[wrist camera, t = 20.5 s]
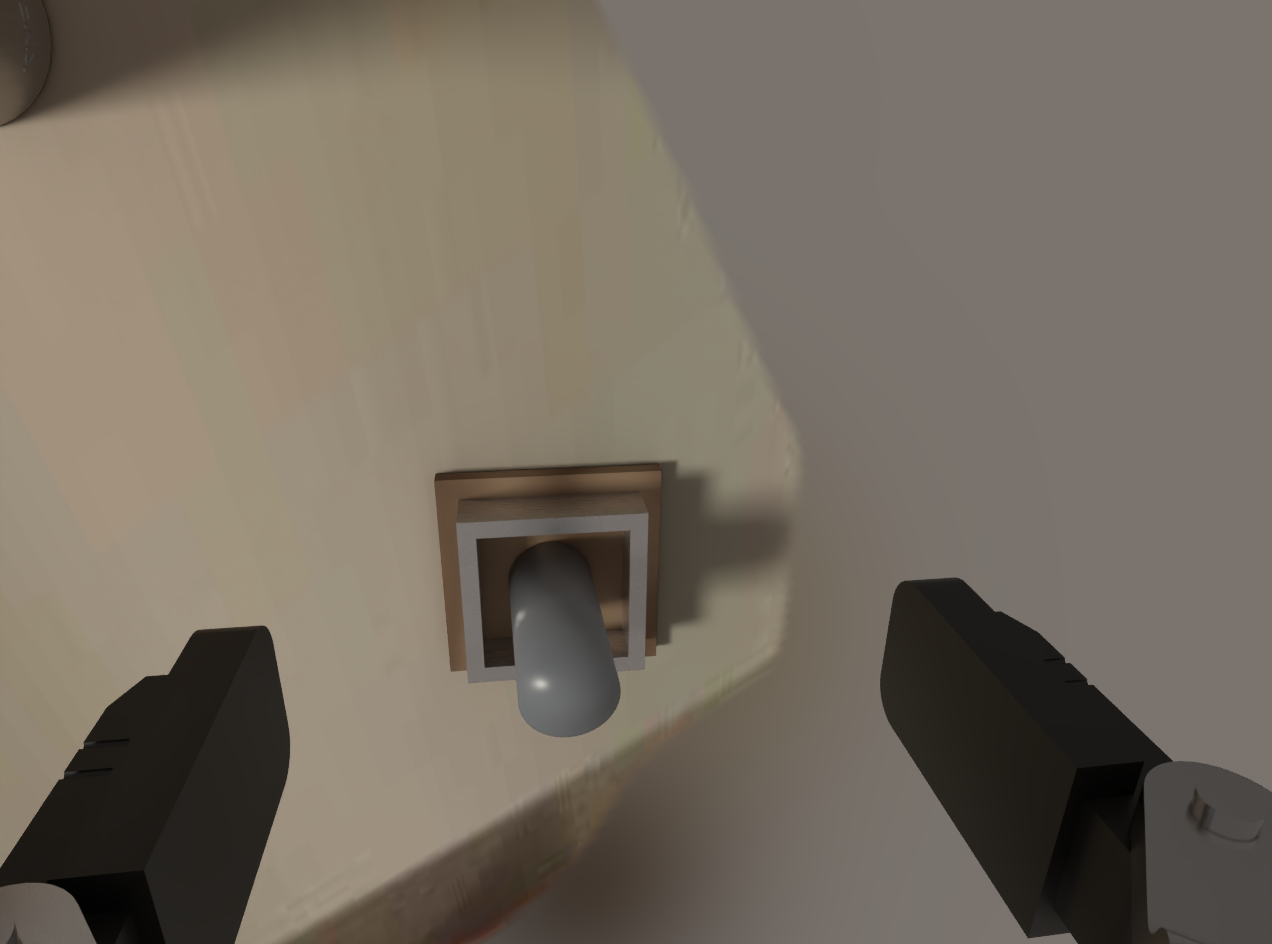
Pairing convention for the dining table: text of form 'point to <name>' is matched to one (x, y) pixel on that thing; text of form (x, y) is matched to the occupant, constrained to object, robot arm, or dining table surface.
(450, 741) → the dining table surface
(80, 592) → the dining table surface
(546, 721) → the grey capsule cylinder
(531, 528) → the collar
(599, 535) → the socket board
